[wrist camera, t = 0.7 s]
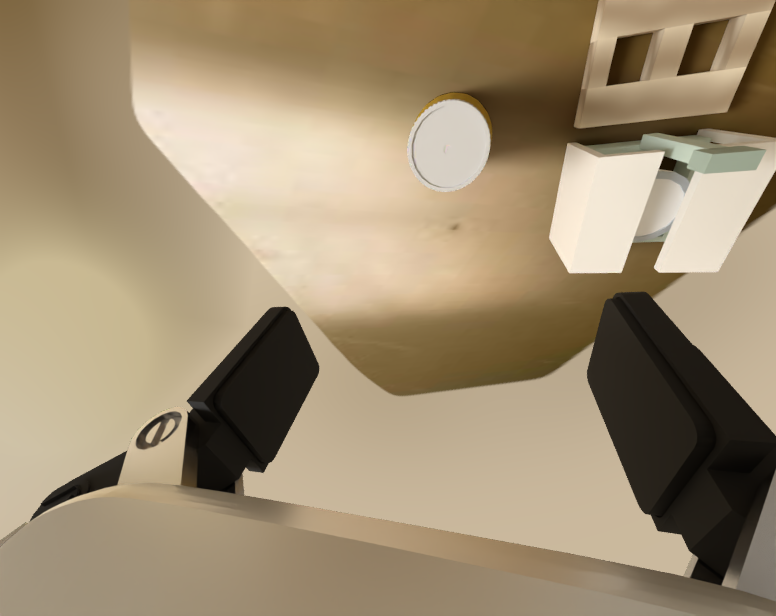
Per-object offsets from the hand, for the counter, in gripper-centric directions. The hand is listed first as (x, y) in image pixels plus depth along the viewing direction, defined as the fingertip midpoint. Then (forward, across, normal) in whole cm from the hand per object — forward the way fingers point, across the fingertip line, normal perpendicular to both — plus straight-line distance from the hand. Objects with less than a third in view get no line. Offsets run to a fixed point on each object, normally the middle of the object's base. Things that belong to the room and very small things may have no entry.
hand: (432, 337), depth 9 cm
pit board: (+33, -18, -5) cm, 38 cm away
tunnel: (+33, -18, +7) cm, 38 cm away
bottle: (+33, 0, -2) cm, 33 cm away
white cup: (+33, -18, +7) cm, 38 cm away
